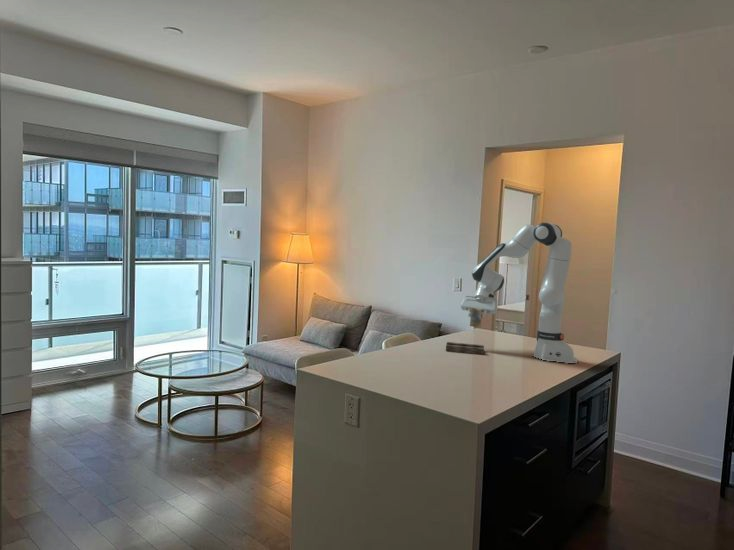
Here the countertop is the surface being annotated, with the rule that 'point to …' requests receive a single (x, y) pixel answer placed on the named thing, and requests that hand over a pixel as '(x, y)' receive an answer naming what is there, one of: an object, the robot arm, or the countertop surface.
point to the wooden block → (475, 317)
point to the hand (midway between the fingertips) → (475, 317)
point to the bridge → (465, 348)
